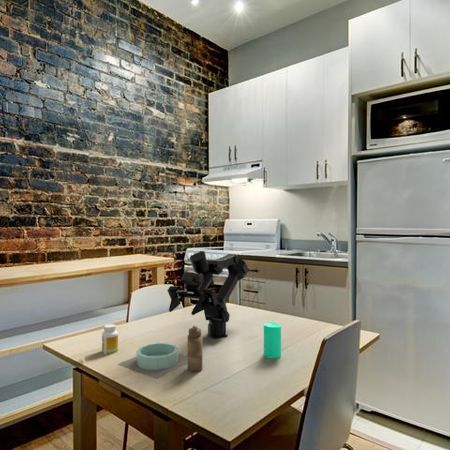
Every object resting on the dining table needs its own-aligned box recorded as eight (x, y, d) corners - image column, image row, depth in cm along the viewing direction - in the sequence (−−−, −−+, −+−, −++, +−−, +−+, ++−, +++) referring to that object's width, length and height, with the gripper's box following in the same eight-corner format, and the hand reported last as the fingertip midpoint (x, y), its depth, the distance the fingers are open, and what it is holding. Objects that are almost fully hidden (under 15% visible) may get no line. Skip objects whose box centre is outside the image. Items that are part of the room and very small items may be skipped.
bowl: (171, 351, 123) (171, 340, 123) (182, 365, 112) (182, 353, 112) (133, 357, 118) (133, 346, 118) (141, 372, 106) (141, 360, 106)
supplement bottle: (121, 351, 125) (121, 324, 125) (111, 356, 120) (111, 328, 120) (108, 349, 127) (108, 322, 127) (98, 354, 122) (98, 327, 122)
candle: (270, 359, 118) (270, 323, 118) (260, 353, 123) (260, 319, 123) (284, 356, 120) (284, 321, 120) (274, 350, 126) (274, 317, 126)
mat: (158, 349, 127) (158, 347, 127) (196, 360, 117) (196, 358, 117) (117, 366, 112) (117, 364, 112) (157, 380, 102) (157, 378, 102)
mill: (199, 367, 112) (199, 322, 111) (204, 372, 107) (204, 326, 107) (185, 369, 110) (185, 324, 110) (190, 375, 106) (190, 328, 105)
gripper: (174, 264, 131) (150, 292, 119) (217, 267, 123) (197, 297, 111) (182, 287, 136) (161, 315, 125) (225, 291, 128) (206, 322, 116)
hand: (180, 312), depth 119 cm, fingers open, 9 cm apart
